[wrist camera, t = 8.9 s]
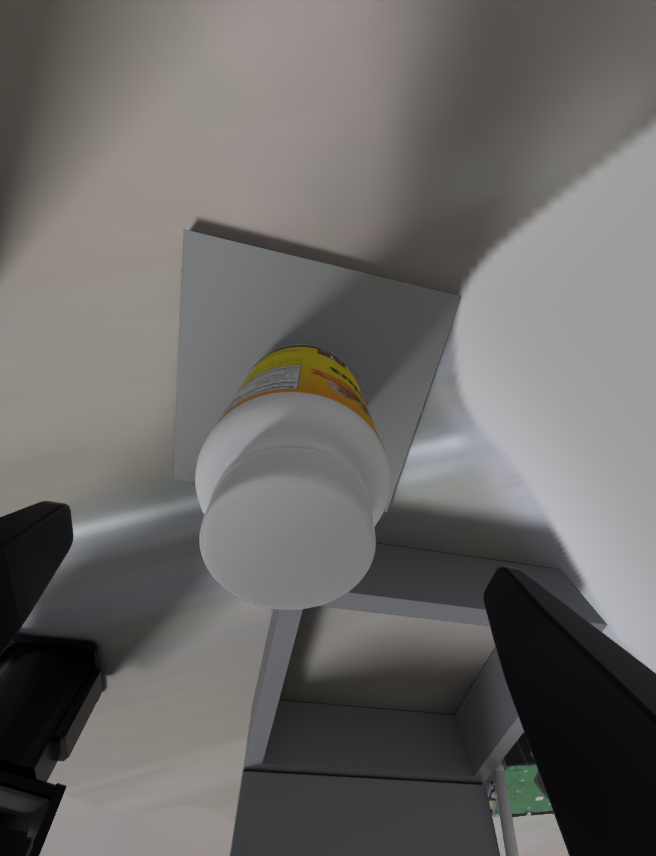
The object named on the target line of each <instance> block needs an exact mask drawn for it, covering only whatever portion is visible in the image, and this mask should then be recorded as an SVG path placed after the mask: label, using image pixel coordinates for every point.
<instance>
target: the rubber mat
mask: <svg viewBox="0 0 656 856" xmlns="http://www.w3.org/2000/svg"><path fill="white" fill-rule="evenodd" d="M460 299H461V296H459V295H455V294H451V293H447V292H442V291H438V290H434V289H430V288H426V287H422V286H417V285H413V284H409V283H405V282H401V281H397V280H393V279H388V278H384V277H380V276H376V275H372V274H368V273H363V272H359V271H355V270H351V269H347V268H343V267H338V266H334V265H330V264H326V263H322V262H318V261H314V260H309V259H305V258H301V257H297V256H293V255H289V254H284V253H280V252H276V251H272V250H268V249H264V248H259V247H255V246H251V245H247V244H243V243H239V242H235V241H230V240H226V239H222V238H218V237H214V236H210V235H205V234H201V233H197V232H193V231H189V230H185V229H184V233H183V256H182V279H181V303H180V326H179V349H178V372H177V395H176V418H175V441H174V464H173V480H178V481H185V482H191V483H195V474H196V466H197V461H198V457H199V454H200V451H201V448H202V446H203V444H204V442H205V440H206V438H207V437H208V435H209V433H210V432H211V430H212V429H213V427H214V425H215V424H216V423H217V421H218V420H219V418H220V417H221V415H222V414H223V412H224V411H225V409H226V408H227V406H228V404H229V403H230V401H231V400H232V398H233V397H234V395H235V394H236V392H237V391H238V389H239V388H240V386H241V385H242V383H243V382H244V380H245V379H246V377H247V376H248V374H249V373H250V371H251V370H252V368H253V367H254V365H256V364H257V363H258V362H259V361H260V360H261V359H262V358H263V357H264V356H266V355H267V354H269V353H270V352H272V351H274V350H276V349H278V348H281V347H284V346H289V345H296V344H305V345H313V346H317V347H320V348H323V349H325V350H327V351H329V352H331V353H333V354H334V355H336V356H337V357H338V358H340V359H341V360H342V361H343V362H344V363H345V364H346V365H347V366H348V368H349V369H350V370H351V372H352V373H353V375H354V377H355V379H356V381H357V383H358V386H359V388H360V391H361V393H362V396H363V398H364V401H365V403H366V406H367V408H368V410H369V413H370V415H371V418H372V420H373V423H374V425H375V428H376V431H377V433H378V435H379V438H380V440H381V442H382V445H383V448H384V451H385V454H386V458H387V462H388V467H389V474H390V489H389V496H388V500H387V504H386V506H385V509H384V513H387V510H388V507H389V504H390V501H391V499H392V496H393V493H394V490H395V487H396V484H397V481H398V478H399V475H400V473H401V470H402V467H403V464H404V461H405V458H406V455H407V452H408V449H409V447H410V444H411V441H412V438H413V435H414V432H415V429H416V426H417V423H418V420H419V418H420V415H421V412H422V409H423V406H424V403H425V400H426V397H427V394H428V392H429V389H430V386H431V383H432V380H433V377H434V374H435V371H436V368H437V366H438V363H439V360H440V357H441V354H442V351H443V348H444V345H445V342H446V340H447V337H448V334H449V331H450V328H451V325H452V322H453V319H454V316H455V314H456V311H457V308H458V305H459V302H460Z"/></svg>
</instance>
